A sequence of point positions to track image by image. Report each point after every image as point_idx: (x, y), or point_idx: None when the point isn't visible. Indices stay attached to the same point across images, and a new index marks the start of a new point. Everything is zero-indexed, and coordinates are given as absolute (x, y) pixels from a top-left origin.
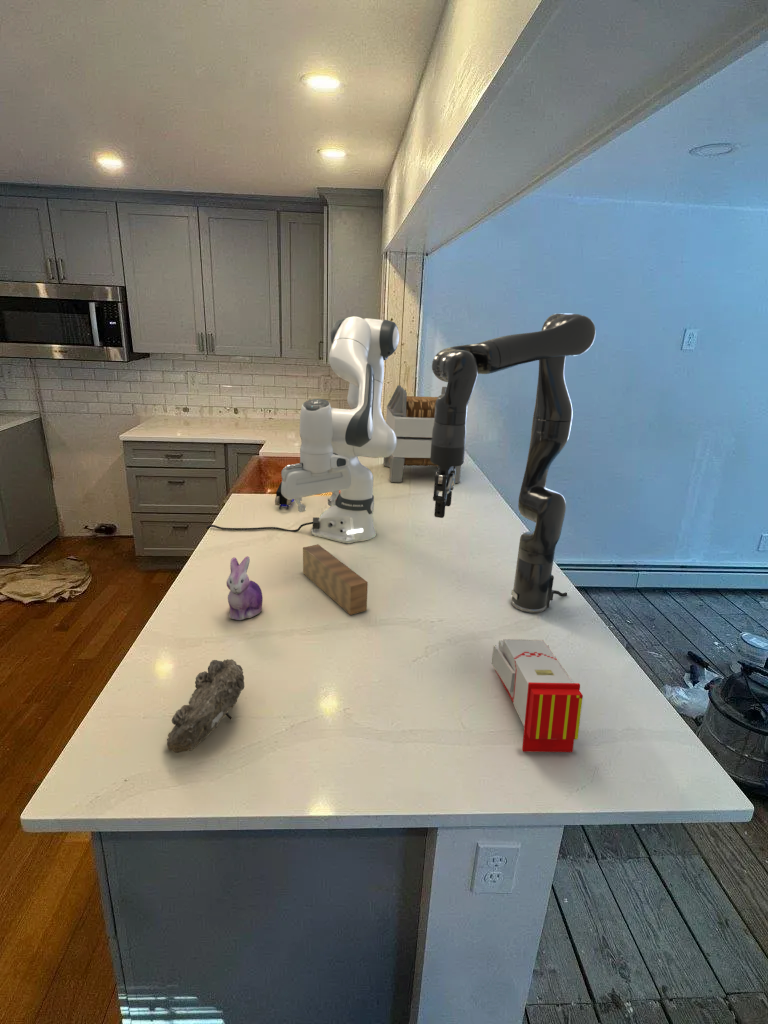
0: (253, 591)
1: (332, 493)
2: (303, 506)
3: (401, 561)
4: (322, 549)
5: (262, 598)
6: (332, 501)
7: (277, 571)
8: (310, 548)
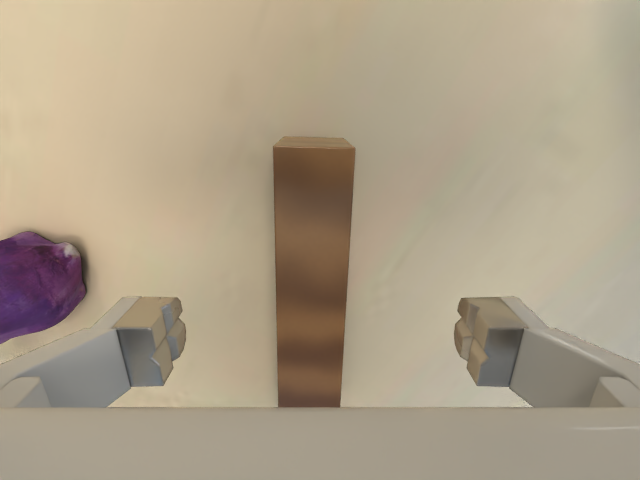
0: (13, 335)
1: (598, 366)
2: (139, 384)
3: (617, 223)
4: (341, 211)
5: (67, 311)
6: (490, 379)
7: (205, 71)
8: (299, 175)
